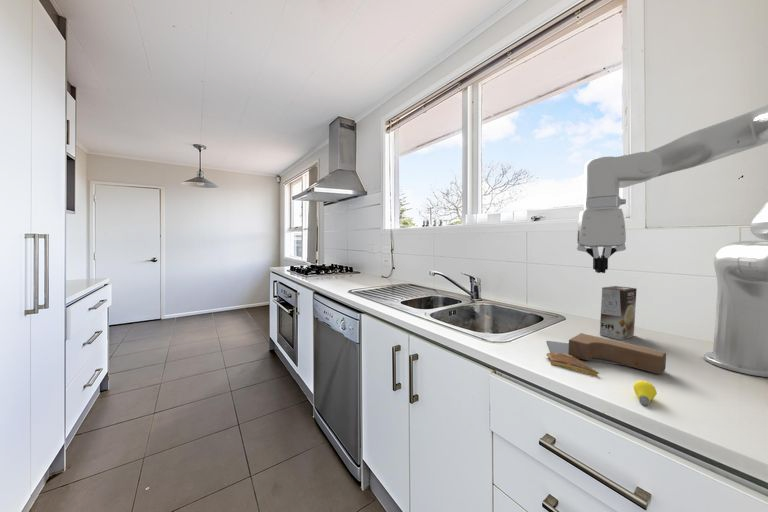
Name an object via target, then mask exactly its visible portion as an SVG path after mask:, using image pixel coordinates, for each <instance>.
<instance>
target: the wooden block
mask: <svg viewBox="0 0 768 512" xmlns="http://www.w3.org/2000/svg"><path fill="white" fill-rule="evenodd" d="M568 343H569V350H568V354H569V355H572V356H574V357H577V358H580V359H579V360H583V359H584V360H585V361H590V360H589V359H592V358H594V359H603V360H608V361H612V362H616V363H620V364H623V365H622V366H625V365H627V366H626V367H632V368H635V369H637V370H641V371H645V372H649V373H653V374H657V375H662V374H664V372H665V370H666V365H667V364H666V362H667V352H665V351H662V350H657V349H653V348H649V347H644V346H640V345H639V346H638V345H634V344H631V343H630V344H629V343H627V342H621V341H617V340H612V339H610V338H604V337H601V336H595V335H592V334H587V333H579V334H577V335H576V336H573V337H572V338H570V339H568Z"/></svg>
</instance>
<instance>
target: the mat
mask: <svg viewBox="0 0 768 512" xmlns="http://www.w3.org/2000/svg"><path fill="white" fill-rule="evenodd" d="M546 344H547V348H548V350H549V353H564V354H567V355H569V354H568V350H569V342H568V343H567V342H560V341H552V340H546ZM576 358H577V357H576ZM577 359H579V360H581V359H580V358H577ZM582 360H584V359H582ZM588 361H591V362H597V363H605V364H612V365H618V366H619V365H620V366H626V367H628V366H627V365H623V364H620V363H616V362H612V361H608V360H603V359H594V358H592V359H589V360H588Z"/></svg>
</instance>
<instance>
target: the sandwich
mask: <svg viewBox="0 0 768 512" xmlns="http://www.w3.org/2000/svg"><path fill="white" fill-rule="evenodd" d="M545 355H546V356H547V357H548V359H550V365H553V366H558V367H562V368H565V369H569V370H572V371H575V372H579V373H583V374H586V375H591V376H595V377H596V376H597V377H598V375H599V374H600V371H597V370H595V369H594V368H592V367H590V366H589V365H587V363H585V362H583V361H582V360H581V359H577V358H576V357H574V356H572V355H567V354H564V353H550V352H547V353H545Z"/></svg>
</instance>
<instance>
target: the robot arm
mask: <svg viewBox="0 0 768 512" xmlns="http://www.w3.org/2000/svg"><path fill="white" fill-rule="evenodd" d="M766 144H768V104H766V105H763V106H761V107H759V108H757V109H754V110H751V111H748V112H747V113H743V114H741V115H737V116H734V117H733V118H729V119H727V120H724V121H720V122H718V123H715V124H712V125H709V126H707V127H704V128H700V129H697V130H695V131H692V132H690V133H687V134H685V135H683V136H681V137H678V138H676V139H674V140H672V141H670V142H668V143H666V144H664V145H661V146H659V147H657V148H654V149H651V150H649V151H640V152H634V153H629V154H626V155H619V156H600V157H596V158H593V159H590V160H588V161H587V162H586V163H585V165H584V173H583V174H584V180H583V182H584V186H583V187H584V190H583V191H584V192H583V193H584V194H583V196H584V197H583V199H584V200H583V205H584V206H583V210H582V211H580V212H579V218H578V223H577V234H576V235H577V236H576V237H577V238H576V243H577V245H576V246H577V247H576V250H577V251H579V252H584V253H586V254H588V255H590V257H592V270H595V273H598V274H601V273H602V274H605V273H606V271H607V270H608V269H609V258H610V257H611V256H612V255H613V254H615V253H617V252H623V251H626V250H627V249H626V248H627V247H626V239H627V233H626V232H627V231H626V224H625V223H626V222H625V217H624V216H625V215H624V212H623V209H622V208H620V207H621V206H623V205H626V203H627V200H626V198H625V199H624V198H621V196H620V189H623V188H627V187H631V186H634V185H637V184H641V183H645V182H647V181H650V180H652V179H654V178H658V177H661V176H664V175H668V174H671V173H674V172H675V173H676V172H680V171H684V170H687V169H688V170H689V169H692V168H696V167H698V166H702V165H706V164H708V163H712V162H714V161H717V160H720V159H723V158H726V157H729V156H732V155H735V154H739V153H742V152H745V151H748V150H752V149H754V148H757V147H760V146H763V145H766ZM749 229H750V232H751V234H752V235H753V236H754V237H756V238H759V239H761V240H739V241H735V242H734V241H733V242H730V243H728V244H725V245H724V246H722V247H721V248H719V250H717V252H716V253H715V254H714V258H713V266H714V272H715V276H716V282H717V283H716V285H717V290H716V291H717V294H716V306H715V307H716V308H715V318H714V321H715V322H714V334H713V346H712V347H713V348H712V349H713V350H712V351H709V352H708V351H707V352H705V353H703V359H704V360H705V361H706V362H708V363H710V364H712V365H714V366H717V367H719V368H722V369H726V370H729V371H733V372H737V373H740V374H746V375H751V376H757V377H763V378H768V200H767V201H766V203H764V205H763V206H762V207H761V208H760V209H759V211H758V212H757V213H756V215H754V216H753V219H752V220H751V222H750V225H749ZM600 247H601V248H602V247H603V248H602V252H601V255H600V253H599V252H600V251H599V248H600Z"/></svg>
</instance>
